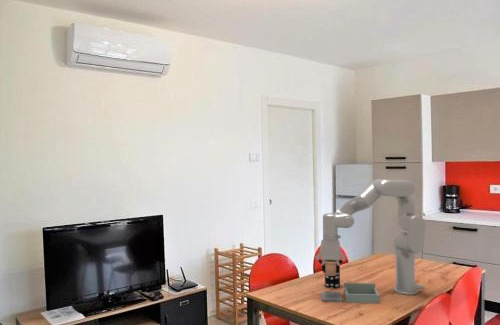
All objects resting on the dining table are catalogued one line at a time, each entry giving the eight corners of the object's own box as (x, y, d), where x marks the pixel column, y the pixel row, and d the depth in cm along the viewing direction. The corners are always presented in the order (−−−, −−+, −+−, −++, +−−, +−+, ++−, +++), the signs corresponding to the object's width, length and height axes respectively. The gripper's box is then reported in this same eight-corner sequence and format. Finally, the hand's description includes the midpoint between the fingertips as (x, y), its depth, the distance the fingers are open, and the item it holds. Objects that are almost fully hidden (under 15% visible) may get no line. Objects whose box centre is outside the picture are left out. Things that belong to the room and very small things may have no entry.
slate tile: (340, 294, 217) (340, 292, 217) (342, 301, 205) (342, 299, 205) (320, 293, 218) (320, 291, 218) (322, 301, 206) (321, 299, 206)
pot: (336, 272, 214) (336, 259, 214) (338, 276, 207) (337, 262, 207) (323, 272, 215) (323, 258, 215) (324, 275, 208) (323, 262, 208)
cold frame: (375, 294, 215) (374, 283, 215) (379, 303, 202) (379, 291, 202) (343, 294, 217) (343, 282, 217) (346, 302, 204) (346, 290, 204)
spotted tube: (340, 284, 233) (339, 249, 233) (339, 289, 225) (339, 252, 225) (325, 283, 236) (325, 248, 236) (324, 288, 228) (323, 252, 228)
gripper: (346, 236, 214) (346, 271, 214) (313, 236, 216) (313, 270, 216) (348, 239, 207) (348, 275, 207) (313, 238, 209) (313, 274, 209)
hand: (330, 272), depth 211 cm, fingers closed on pot, 6 cm apart
